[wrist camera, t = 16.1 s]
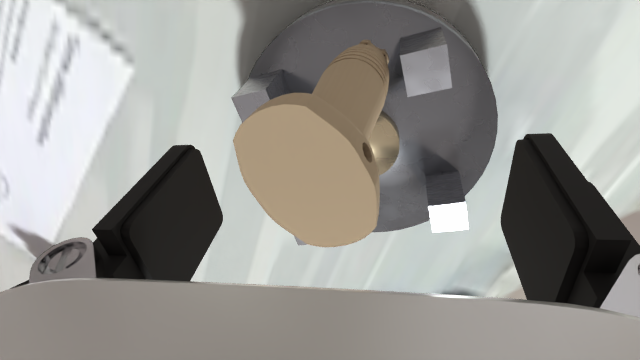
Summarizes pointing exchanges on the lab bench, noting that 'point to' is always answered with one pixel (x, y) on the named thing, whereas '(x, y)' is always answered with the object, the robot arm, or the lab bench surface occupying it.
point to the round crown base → (397, 102)
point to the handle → (320, 151)
